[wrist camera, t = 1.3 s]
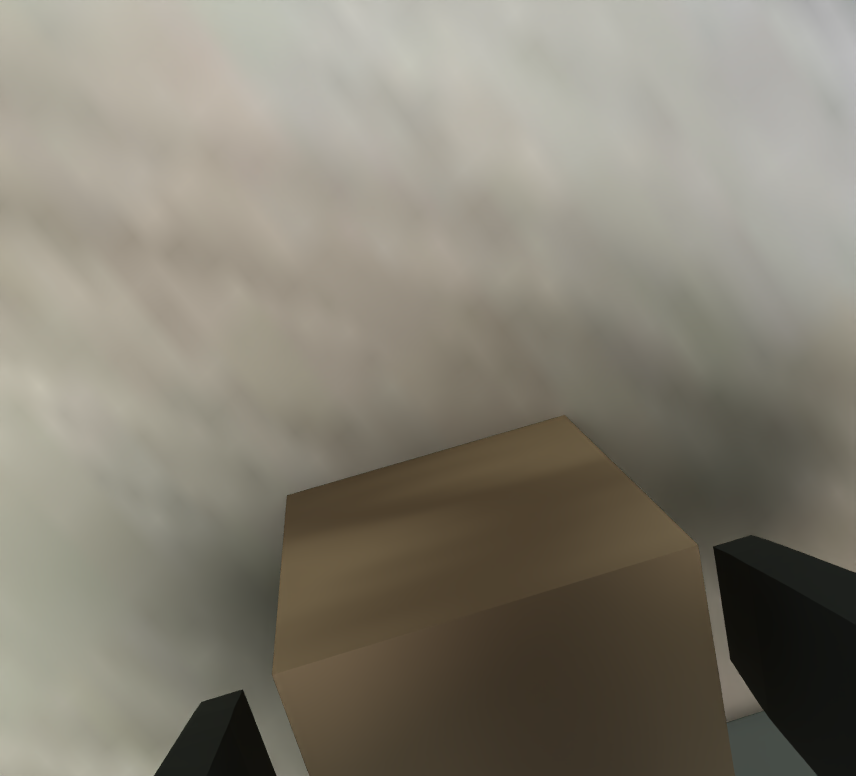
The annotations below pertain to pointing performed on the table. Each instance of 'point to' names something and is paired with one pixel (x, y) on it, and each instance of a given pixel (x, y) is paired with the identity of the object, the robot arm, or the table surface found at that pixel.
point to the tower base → (763, 749)
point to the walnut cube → (496, 620)
